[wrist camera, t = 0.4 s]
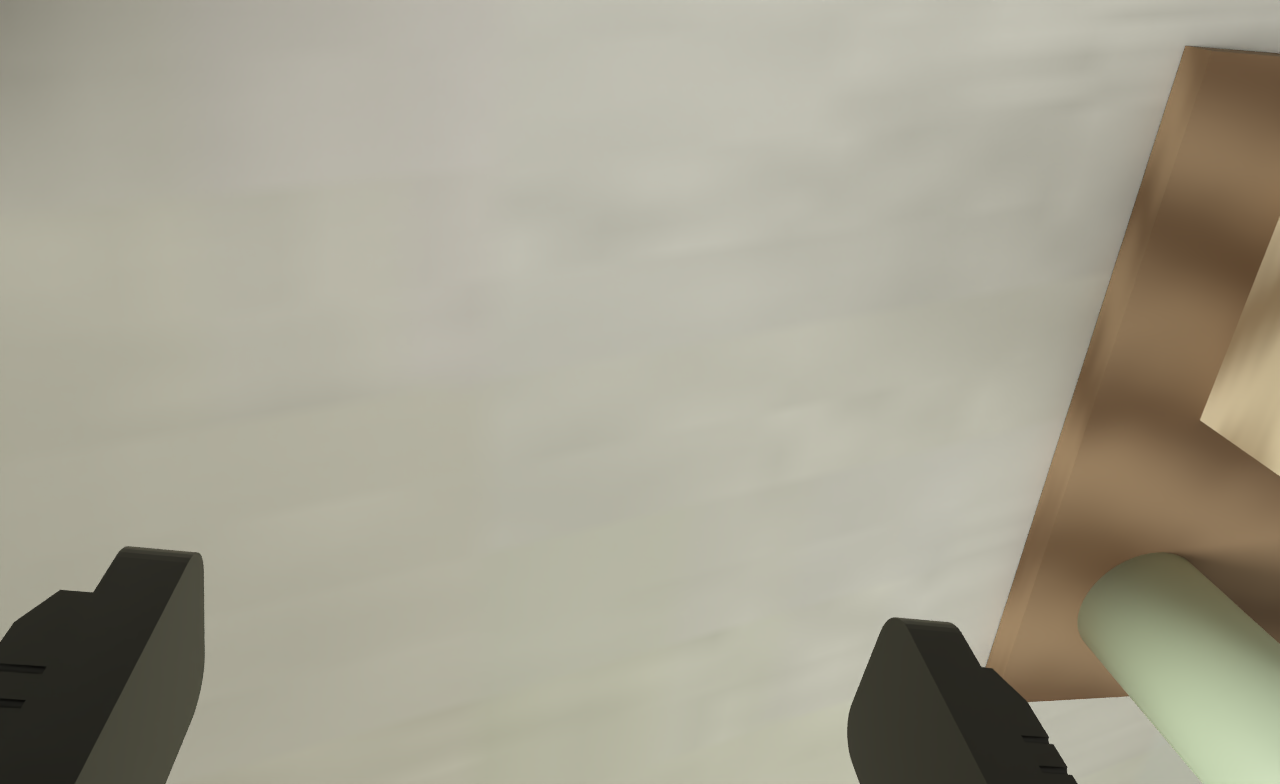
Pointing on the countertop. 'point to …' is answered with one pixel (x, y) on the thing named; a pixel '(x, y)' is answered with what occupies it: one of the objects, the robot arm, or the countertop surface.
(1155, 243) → the walnut board
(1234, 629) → the sage cylinder
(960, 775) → the robot arm
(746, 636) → the countertop surface
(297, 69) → the countertop surface
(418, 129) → the countertop surface
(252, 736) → the countertop surface
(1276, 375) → the beech brick
